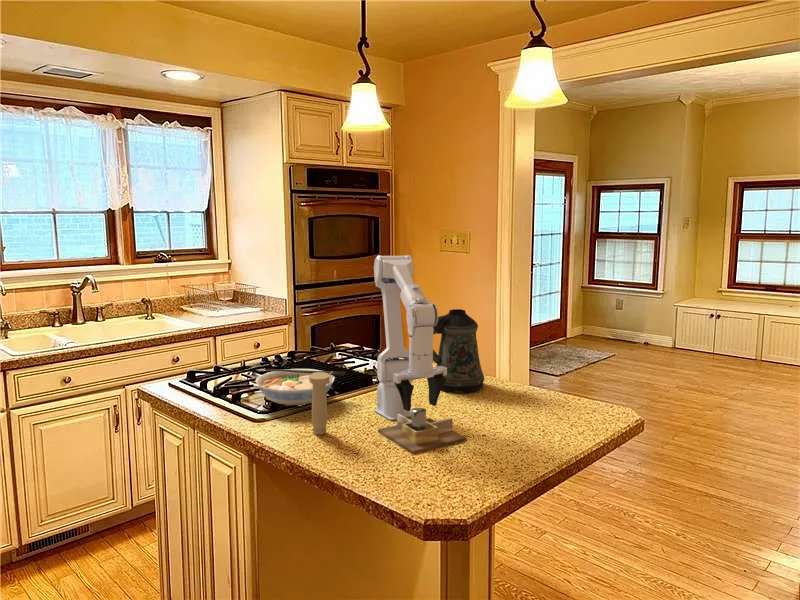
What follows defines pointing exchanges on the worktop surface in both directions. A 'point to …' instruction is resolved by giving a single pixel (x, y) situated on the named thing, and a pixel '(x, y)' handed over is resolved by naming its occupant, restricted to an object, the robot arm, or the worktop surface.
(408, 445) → the hinge block
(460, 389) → the beer stein
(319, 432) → the handle
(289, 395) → the ramen bowl
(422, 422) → the hinge pin
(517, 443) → the worktop surface
